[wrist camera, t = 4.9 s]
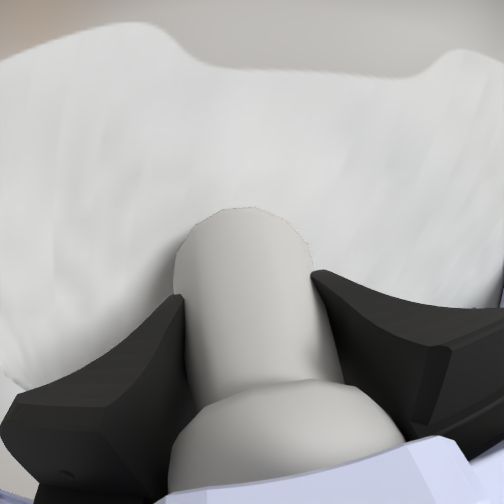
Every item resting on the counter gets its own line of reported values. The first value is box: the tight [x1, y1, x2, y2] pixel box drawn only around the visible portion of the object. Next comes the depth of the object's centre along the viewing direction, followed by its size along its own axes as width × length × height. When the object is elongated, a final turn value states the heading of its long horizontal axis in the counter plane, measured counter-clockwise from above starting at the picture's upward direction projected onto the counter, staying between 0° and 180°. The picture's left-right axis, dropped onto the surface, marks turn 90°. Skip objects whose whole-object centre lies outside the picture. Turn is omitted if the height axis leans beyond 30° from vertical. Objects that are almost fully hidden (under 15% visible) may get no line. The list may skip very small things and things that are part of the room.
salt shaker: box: [168, 207, 406, 495], centre depth 9 cm, size 6×6×13 cm
